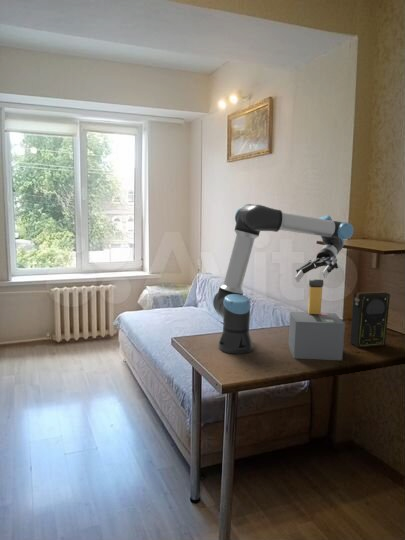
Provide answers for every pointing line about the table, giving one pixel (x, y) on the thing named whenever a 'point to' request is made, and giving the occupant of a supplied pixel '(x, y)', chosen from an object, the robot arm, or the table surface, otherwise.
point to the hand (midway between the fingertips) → (309, 277)
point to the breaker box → (316, 336)
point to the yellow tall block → (315, 296)
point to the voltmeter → (369, 319)
